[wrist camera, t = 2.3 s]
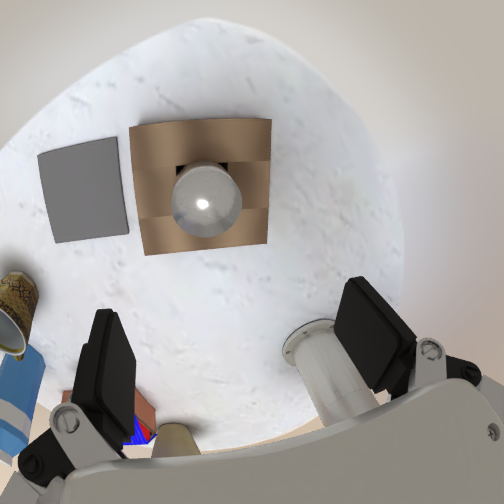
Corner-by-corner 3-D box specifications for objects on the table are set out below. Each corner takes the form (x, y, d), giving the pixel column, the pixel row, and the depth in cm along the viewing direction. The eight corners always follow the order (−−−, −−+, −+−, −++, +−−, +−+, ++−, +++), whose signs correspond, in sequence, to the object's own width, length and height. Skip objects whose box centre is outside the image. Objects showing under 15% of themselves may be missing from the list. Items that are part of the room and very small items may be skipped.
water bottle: (24, 369, 38) (3, 466, 17) (2, 340, 34) (-32, 441, 12) (53, 370, 40) (35, 477, 19) (30, 339, 35) (-3, 454, 14)
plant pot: (202, 416, 57) (213, 472, 44) (199, 437, 63) (208, 484, 50) (142, 415, 52) (145, 473, 39) (148, 436, 59) (152, 485, 45)
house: (156, 409, 52) (159, 452, 42) (89, 414, 50) (86, 453, 40) (134, 383, 46) (133, 433, 36) (61, 389, 43) (54, 432, 34)
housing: (259, 118, 29) (271, 119, 25) (256, 226, 36) (266, 243, 32) (137, 125, 26) (128, 127, 22) (148, 237, 33) (144, 255, 29)
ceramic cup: (-6, 259, 27) (-36, 297, 19) (38, 262, 30) (10, 305, 21) (15, 322, 33) (-3, 362, 24) (58, 328, 36) (43, 373, 27)
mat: (116, 137, 26) (115, 137, 25) (129, 232, 32) (128, 234, 31) (39, 154, 24) (37, 155, 23) (57, 241, 29) (55, 243, 29)
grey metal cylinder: (224, 151, 30) (242, 168, 22) (225, 199, 33) (241, 234, 24) (173, 155, 29) (168, 173, 20) (176, 203, 32) (174, 240, 23)
